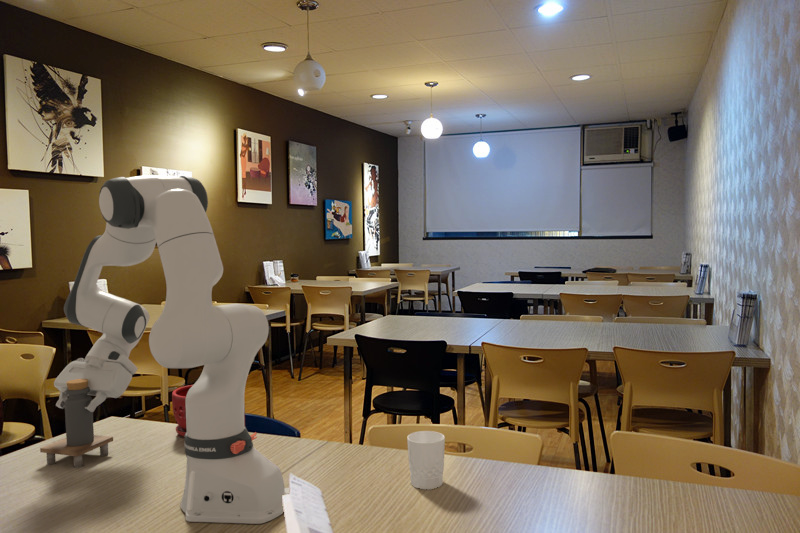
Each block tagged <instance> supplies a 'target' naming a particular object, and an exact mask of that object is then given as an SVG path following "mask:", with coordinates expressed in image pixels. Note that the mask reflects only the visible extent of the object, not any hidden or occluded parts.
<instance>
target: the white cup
mask: <svg viewBox="0 0 800 533" xmlns="http://www.w3.org/2000/svg"><path fill="white" fill-rule="evenodd" d="M406 438H407V439H406V440H407V441H406V442H407V452H408V454H407V455H408V468H409V472H410V473H409V474H410V476H409V478H410V484H412V487H413V488H416V489H418V488H420V489H419V490H426V489H427V490H434V489H433V488H435V489H438V488H440V487H441V486H442V485H443V483H444V482H443V480H444V477H443V475H444V470H445V468H444V466H445V446H446V444H445V443H446V442H445V441H446V437H445V435H444V433H441V432H438V431H433V430H419V431H414V432H411V433H410V434H409V433H408V435H407V437H406ZM437 487H438V488H437Z"/></svg>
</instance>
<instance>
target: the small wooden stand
mask: <svg viewBox="0 0 800 533" xmlns="http://www.w3.org/2000/svg"><path fill="white" fill-rule="evenodd" d="M113 441H114V437H113V436H107V435H97V434H94V441H93V442H92V443H90V444H87V445H83V446H68V445H67V439H66V437H65V438H63V439H60V440H57V441H55V442H52V443H50V444H46V445H44V446H42V447H39V452H40V453H45V454H46V464H47V465H55V464H56V462H57V461H56V460H57V459H56V455H62V456H72V457H73V467H74V468H75V469H76V468H77V469H78V468H82V467H83V465H84V464H83V455H84V454H86V453H89V452H91V451H93V450H95V449H98V448H99V455H100V456H101V457H102V456H104V457H105V456H107V455H109V443H111V442H113Z"/></svg>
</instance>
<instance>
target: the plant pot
mask: <svg viewBox="0 0 800 533" xmlns="http://www.w3.org/2000/svg"><path fill="white" fill-rule="evenodd" d="M193 385H194V384H190V385H185V386H181V387H178V388H176V389H174V390H173V391H172V393H171V402H172V411H173V412H172V413H173V416H174V419H175V422H176V423H177V426H175V432H176V433H177V435H179V436H181V437H184V438H185V434H186V432H187V427H186V395H187V393H188V391H189V389H190V388H191V387H192V386H193Z"/></svg>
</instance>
